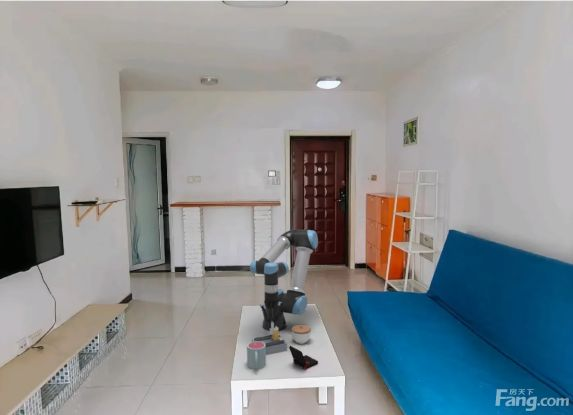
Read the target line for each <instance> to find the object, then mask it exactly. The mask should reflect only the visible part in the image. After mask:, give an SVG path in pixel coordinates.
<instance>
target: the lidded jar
mask: <svg viewBox="0 0 573 415" xmlns="http://www.w3.org/2000/svg"><path fill="white" fill-rule="evenodd" d="M291 331H292V332H291V333H292V338H293V340H294V341H295V343H297V344H299V345H304V344H306V343H308V341H309V340H310V339H311V338H310V337H311V331H312V330H311V327H310V326H308V325H305V324H297V325H294V326H293V327H292V328H291Z"/></svg>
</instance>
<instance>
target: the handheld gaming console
mask: <svg viewBox="0 0 573 415" xmlns="http://www.w3.org/2000/svg"><path fill="white" fill-rule="evenodd" d="M288 348H289V351H290V353H291V356H292V360H293V362H292V363H294V365H296V366H298V367H300V368H301V369H303V370H308V369H311V368H312V367H314V366H317V365H318V364H319V360H317V359H315V358H313V357H311V356H309V355H308V354H303V352H302V351H301V350H300V349H297V348H296V347H293V346H291V345H289V347H288Z"/></svg>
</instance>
